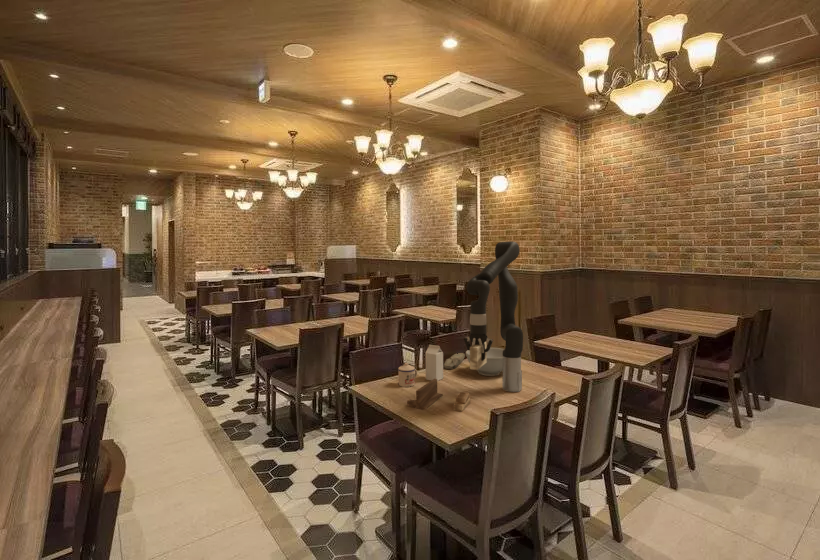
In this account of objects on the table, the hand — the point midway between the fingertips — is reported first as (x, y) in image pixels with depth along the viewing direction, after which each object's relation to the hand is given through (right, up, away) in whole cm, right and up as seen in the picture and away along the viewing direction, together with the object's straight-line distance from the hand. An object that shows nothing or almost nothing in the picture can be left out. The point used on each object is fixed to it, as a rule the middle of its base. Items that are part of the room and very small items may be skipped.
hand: (478, 359), depth 203 cm
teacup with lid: (-32, -19, +32) cm, 49 cm away
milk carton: (-18, -18, +41) cm, 48 cm away
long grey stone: (-3, -16, +75) cm, 77 cm away
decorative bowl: (+14, -17, +51) cm, 56 cm away
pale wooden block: (0, -3, 0) cm, 3 cm away
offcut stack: (-8, -21, -2) cm, 23 cm away
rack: (-24, -21, +6) cm, 32 cm away
